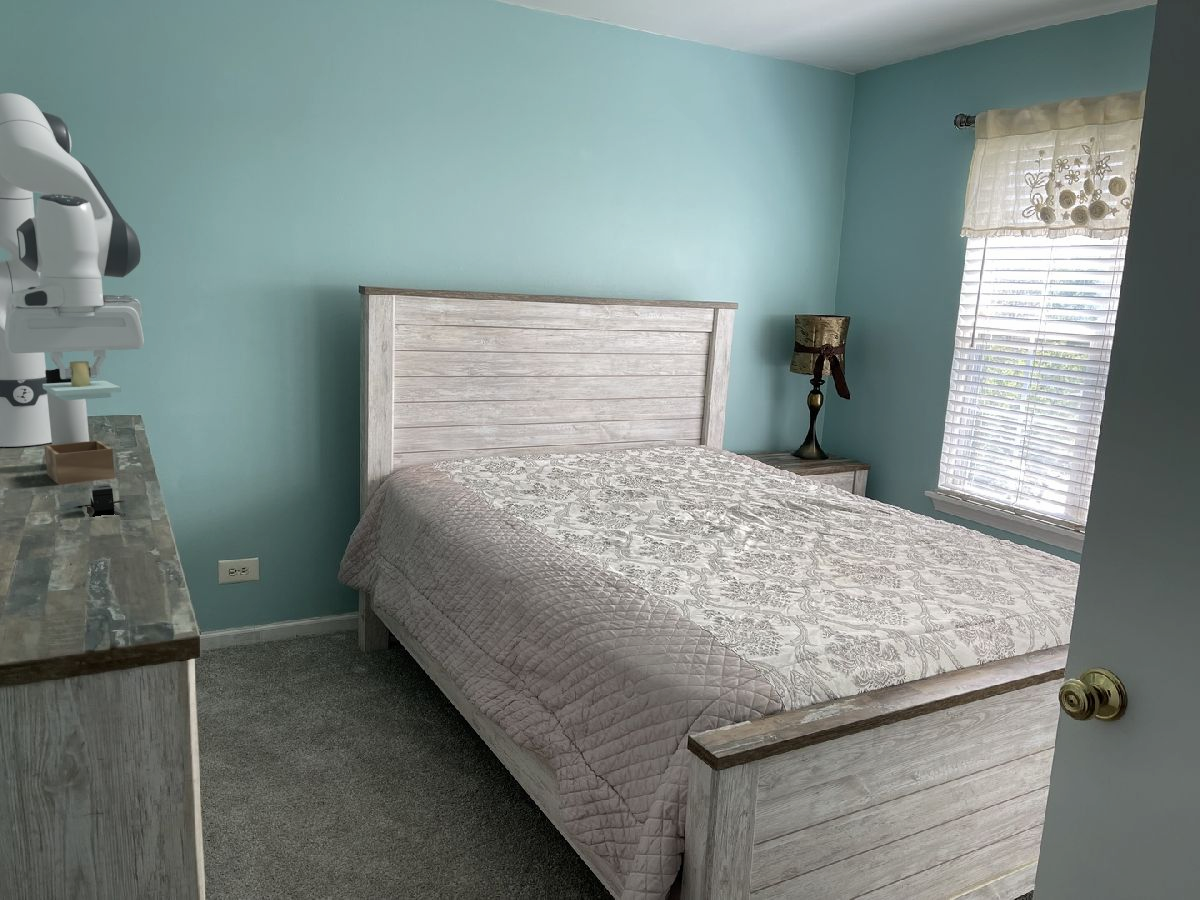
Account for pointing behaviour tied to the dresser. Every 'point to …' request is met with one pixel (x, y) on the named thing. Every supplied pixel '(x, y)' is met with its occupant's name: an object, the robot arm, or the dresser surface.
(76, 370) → the lid
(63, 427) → the travel mug
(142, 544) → the dresser surface
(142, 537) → the dresser surface
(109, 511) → the black stepped block
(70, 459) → the box
